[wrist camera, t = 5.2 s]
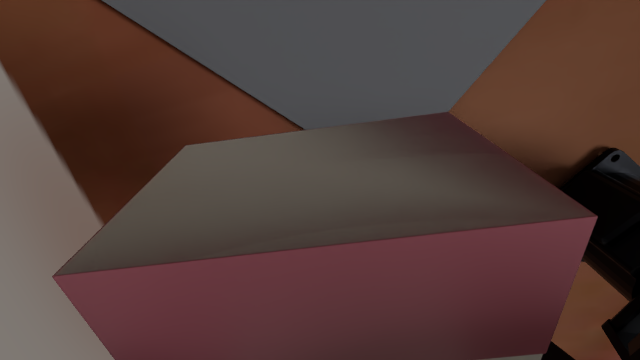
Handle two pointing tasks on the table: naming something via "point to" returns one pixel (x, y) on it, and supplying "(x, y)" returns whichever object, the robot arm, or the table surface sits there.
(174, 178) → the card box
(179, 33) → the mat
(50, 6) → the table surface
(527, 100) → the table surface
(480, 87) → the table surface
